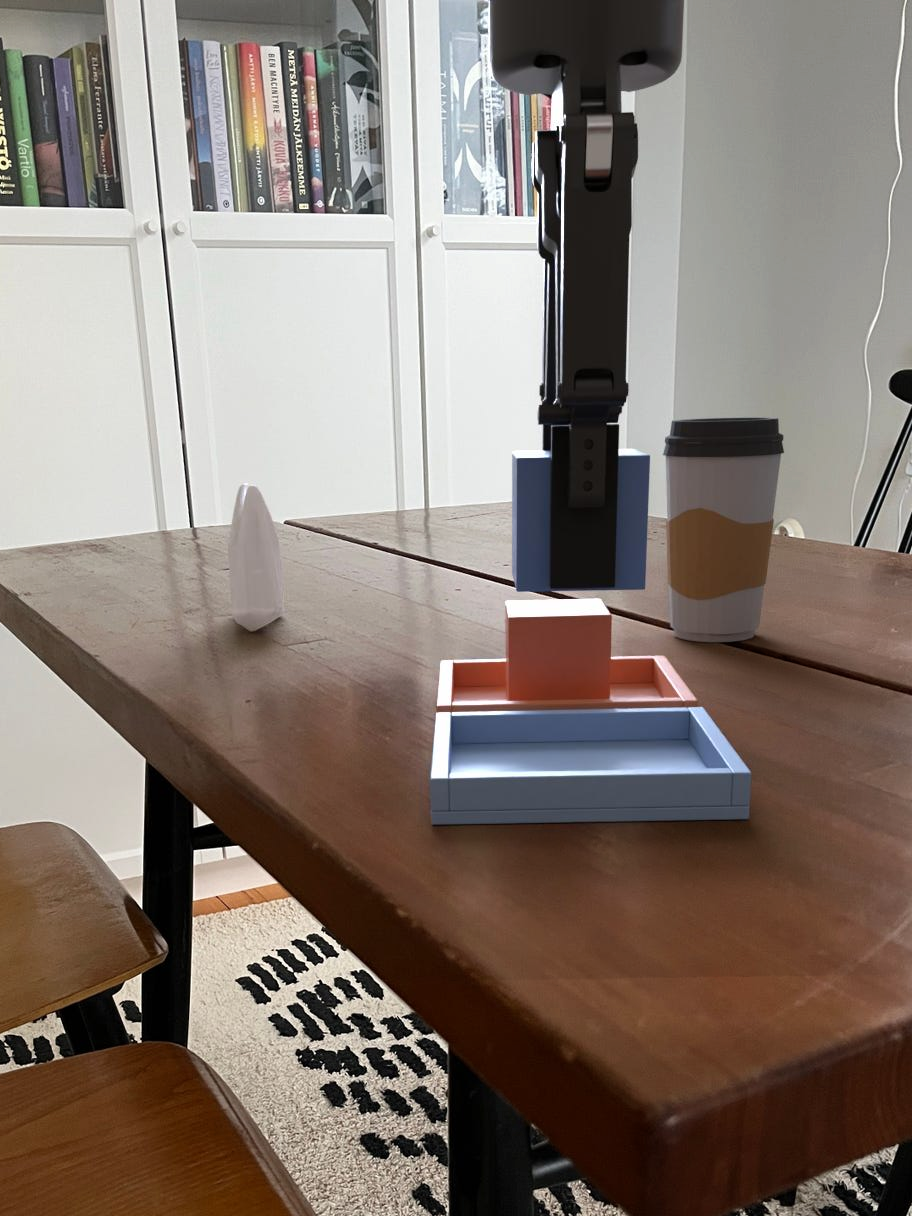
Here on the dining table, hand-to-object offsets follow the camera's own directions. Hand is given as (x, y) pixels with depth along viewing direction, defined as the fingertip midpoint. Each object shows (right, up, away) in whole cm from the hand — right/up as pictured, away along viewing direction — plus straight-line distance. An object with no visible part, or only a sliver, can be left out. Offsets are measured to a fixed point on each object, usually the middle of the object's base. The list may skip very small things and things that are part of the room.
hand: (576, 575), depth 56 cm
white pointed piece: (-20, +6, +46) cm, 51 cm away
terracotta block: (+1, -4, +15) cm, 16 cm away
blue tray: (0, -9, +3) cm, 10 cm away
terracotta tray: (+1, -5, +15) cm, 16 cm away
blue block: (0, 0, 0) cm, 0 cm away
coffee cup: (+14, +3, +37) cm, 39 cm away
